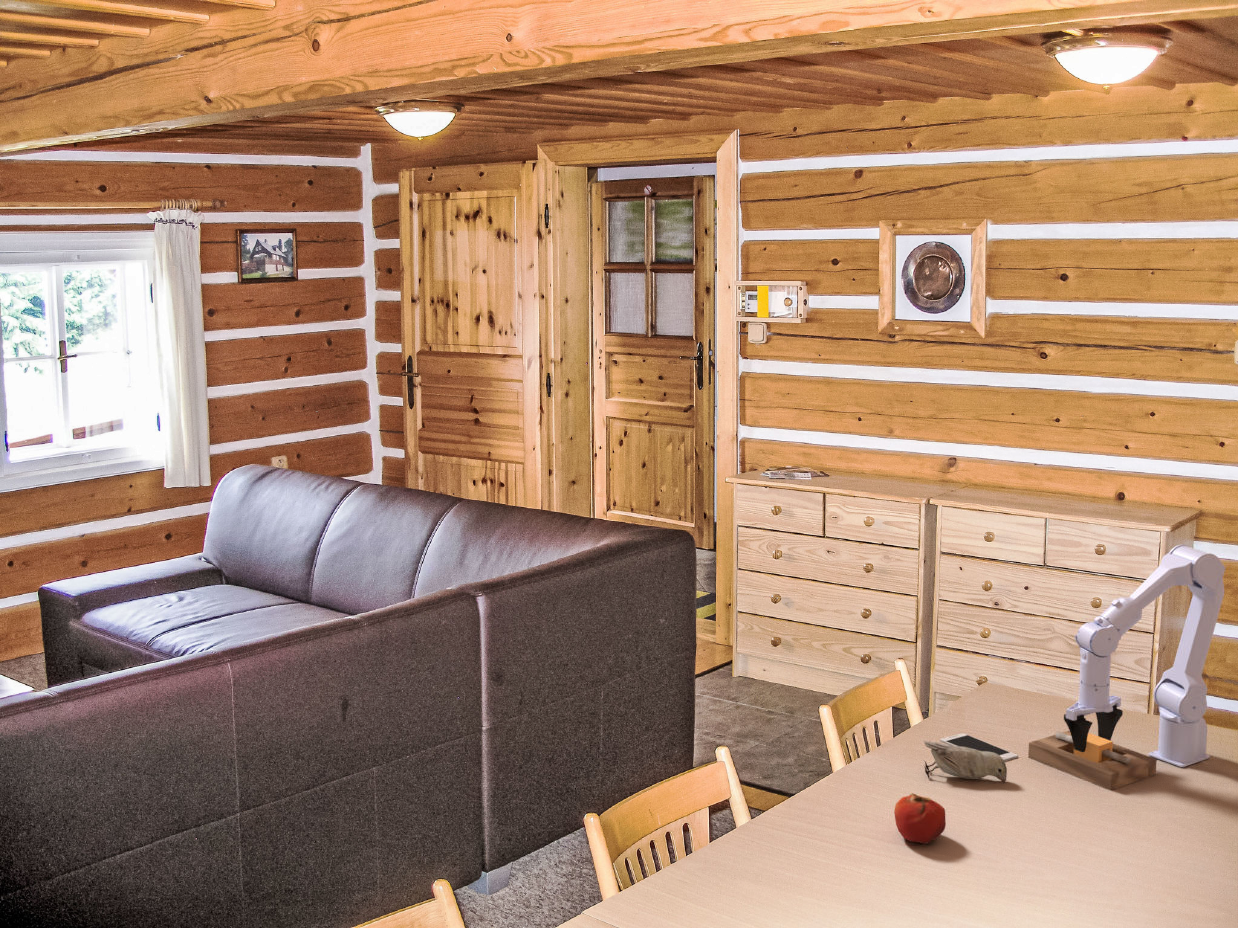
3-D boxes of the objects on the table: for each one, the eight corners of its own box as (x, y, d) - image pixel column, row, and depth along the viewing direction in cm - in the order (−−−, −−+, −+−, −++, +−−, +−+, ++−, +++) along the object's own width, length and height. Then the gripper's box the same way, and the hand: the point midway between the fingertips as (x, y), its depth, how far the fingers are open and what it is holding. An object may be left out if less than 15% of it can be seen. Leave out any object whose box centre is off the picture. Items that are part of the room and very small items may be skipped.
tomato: (911, 822, 231) (912, 781, 230) (955, 838, 224) (956, 795, 223) (882, 839, 224) (883, 796, 223) (927, 855, 218) (928, 811, 217)
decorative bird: (1006, 788, 246) (1008, 752, 245) (922, 781, 250) (923, 745, 249) (1005, 777, 251) (1006, 741, 250) (923, 771, 255) (923, 736, 254)
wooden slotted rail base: (1073, 743, 268) (1074, 722, 267) (1155, 774, 251) (1156, 752, 250) (1028, 757, 261) (1029, 736, 260) (1110, 789, 244) (1111, 767, 243)
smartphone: (994, 765, 257) (994, 761, 257) (939, 742, 271) (939, 738, 270) (1018, 758, 261) (1018, 754, 261) (963, 736, 274) (963, 732, 274)
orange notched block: (1086, 754, 259) (1087, 732, 258) (1111, 764, 254) (1112, 741, 253) (1073, 758, 257) (1074, 736, 256) (1098, 768, 252) (1099, 745, 251)
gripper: (1087, 694, 246) (1084, 760, 248) (1134, 680, 254) (1132, 744, 256) (1058, 684, 252) (1055, 749, 254) (1105, 671, 260) (1102, 734, 262)
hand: (1092, 746), depth 255 cm, fingers open, 7 cm apart
